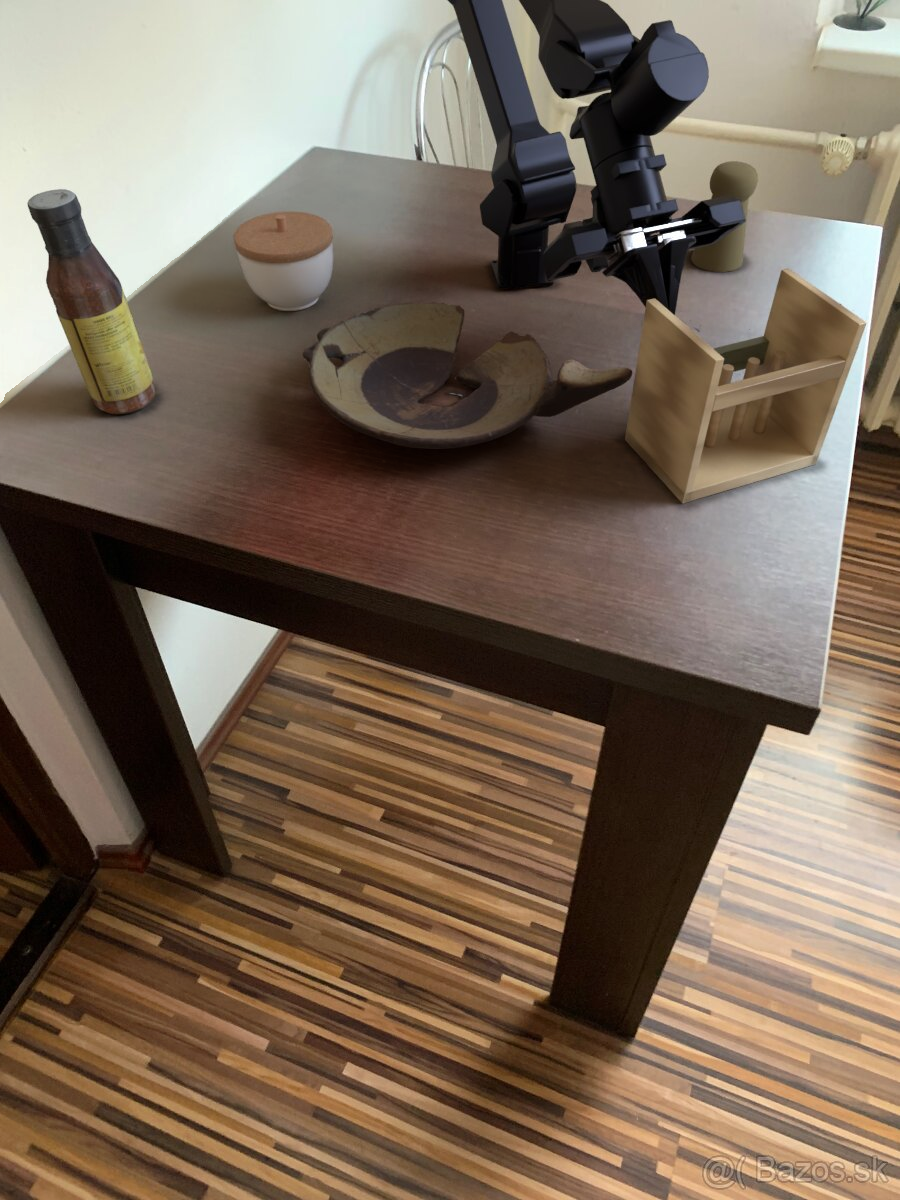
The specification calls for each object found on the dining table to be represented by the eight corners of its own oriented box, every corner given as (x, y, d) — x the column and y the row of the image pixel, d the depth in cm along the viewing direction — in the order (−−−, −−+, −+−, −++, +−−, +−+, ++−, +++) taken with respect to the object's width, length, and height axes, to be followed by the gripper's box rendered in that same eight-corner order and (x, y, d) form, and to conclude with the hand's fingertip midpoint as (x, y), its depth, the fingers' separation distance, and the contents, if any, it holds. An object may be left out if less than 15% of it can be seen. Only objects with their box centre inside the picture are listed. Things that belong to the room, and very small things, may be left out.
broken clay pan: (412, 321, 98) (408, 254, 92) (647, 420, 85) (660, 348, 79) (261, 413, 86) (247, 343, 81) (506, 544, 73) (509, 471, 67)
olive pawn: (743, 274, 104) (766, 177, 96) (690, 269, 105) (709, 174, 97) (741, 250, 108) (763, 156, 100) (691, 247, 109) (709, 153, 101)
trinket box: (228, 311, 100) (210, 229, 93) (275, 269, 107) (262, 190, 100) (312, 328, 97) (300, 245, 90) (355, 284, 104) (347, 204, 97)
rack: (624, 439, 83) (646, 299, 72) (750, 405, 86) (788, 267, 76) (682, 503, 76) (715, 360, 66) (816, 464, 80) (867, 322, 69)
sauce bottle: (169, 388, 90) (111, 187, 75) (135, 423, 85) (67, 218, 71) (114, 377, 91) (47, 178, 77) (78, 411, 87) (0, 208, 73)
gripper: (666, 185, 92) (705, 331, 93) (503, 217, 87) (546, 371, 88) (727, 129, 81) (770, 296, 82) (545, 162, 76) (593, 339, 78)
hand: (667, 327), depth 83 cm, fingers closed
